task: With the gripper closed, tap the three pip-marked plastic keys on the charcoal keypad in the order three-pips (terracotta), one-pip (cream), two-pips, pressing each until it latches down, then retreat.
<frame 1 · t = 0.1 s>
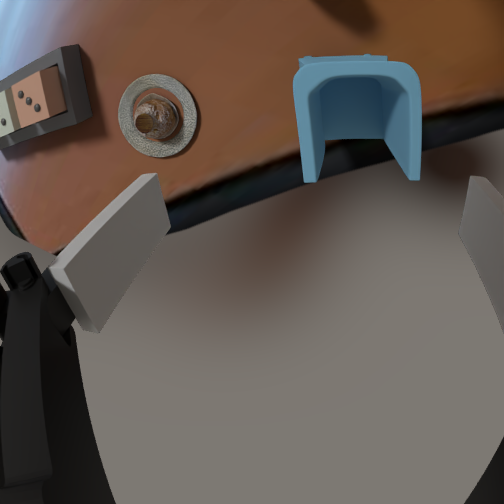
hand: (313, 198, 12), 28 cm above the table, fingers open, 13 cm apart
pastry: (159, 114, 40), on the table
vase: (341, 85, 33), on the table
key 2: (6, 112, 36), point 6 cm above the table, slide at 0.0 cm
key 3: (38, 97, 34), point 6 cm above the table, slide at 0.0 cm
keypad: (29, 102, 41), on the table
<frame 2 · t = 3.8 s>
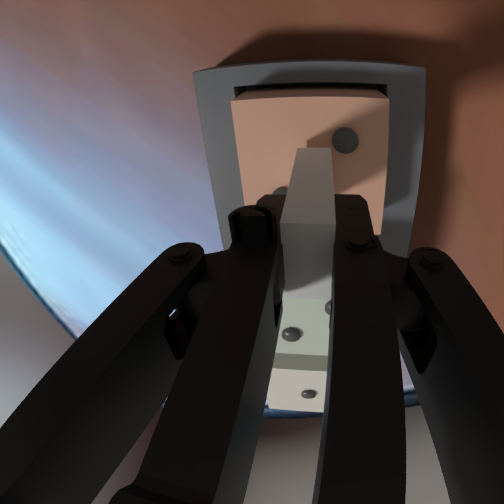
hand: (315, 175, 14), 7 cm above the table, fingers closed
key 2: (314, 298, 20), point 6 cm above the table, slide at 0.0 cm
key 3: (313, 156, 16), point 4 cm above the table, slide at 1.1 cm, touching gripper
key 1: (310, 374, 26), point 6 cm above the table, slide at 0.0 cm
keypad: (317, 248, 25), on the table
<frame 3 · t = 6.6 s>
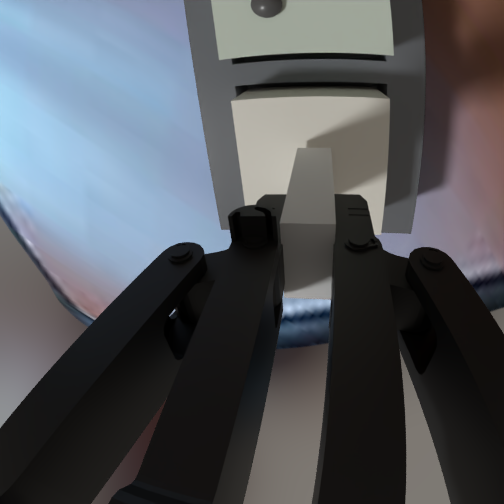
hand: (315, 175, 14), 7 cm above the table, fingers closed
key 1: (314, 156, 16), point 5 cm above the table, slide at 0.9 cm, touching gripper
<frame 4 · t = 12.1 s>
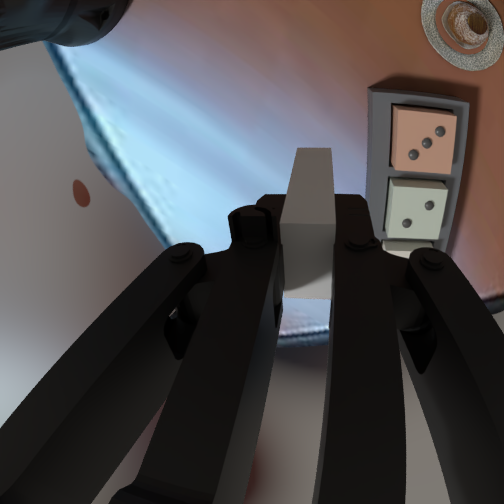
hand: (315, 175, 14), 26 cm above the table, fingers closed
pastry: (461, 25, 25), on the table
key 2: (414, 206, 37), point 4 cm above the table, slide at 1.5 cm
key 3: (421, 138, 32), point 4 cm above the table, slide at 1.5 cm
key 1: (404, 263, 42), point 4 cm above the table, slide at 1.5 cm
keypad: (407, 192, 40), on the table
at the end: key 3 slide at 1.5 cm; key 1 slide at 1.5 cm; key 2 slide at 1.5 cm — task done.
